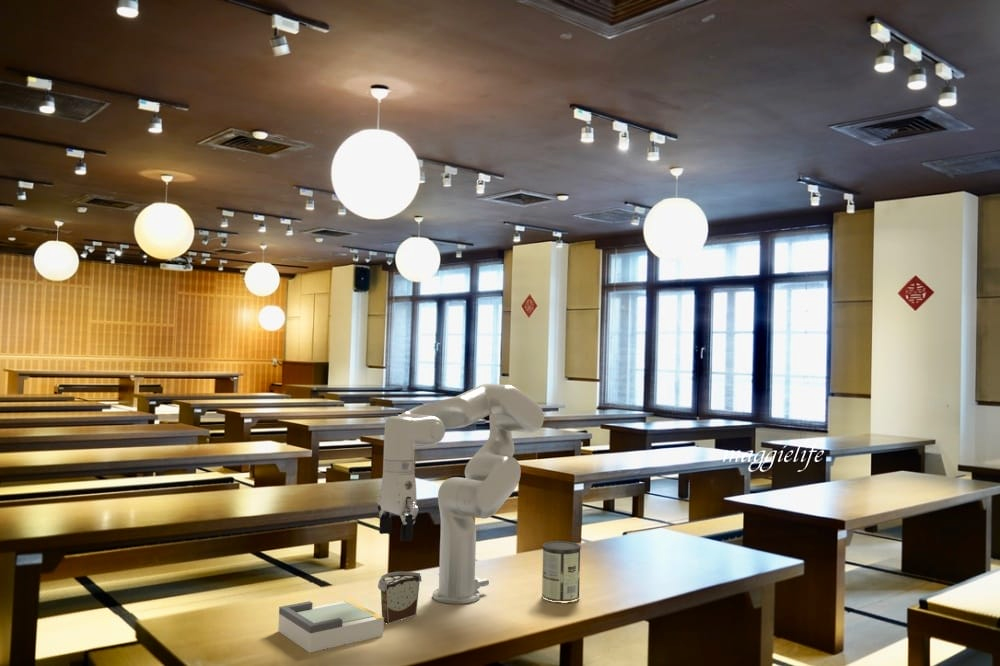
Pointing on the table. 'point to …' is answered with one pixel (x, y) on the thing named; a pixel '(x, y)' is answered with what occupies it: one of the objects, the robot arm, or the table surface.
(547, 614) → the table surface
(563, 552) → the coffee can
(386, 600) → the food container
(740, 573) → the table surface
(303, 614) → the loading dock
